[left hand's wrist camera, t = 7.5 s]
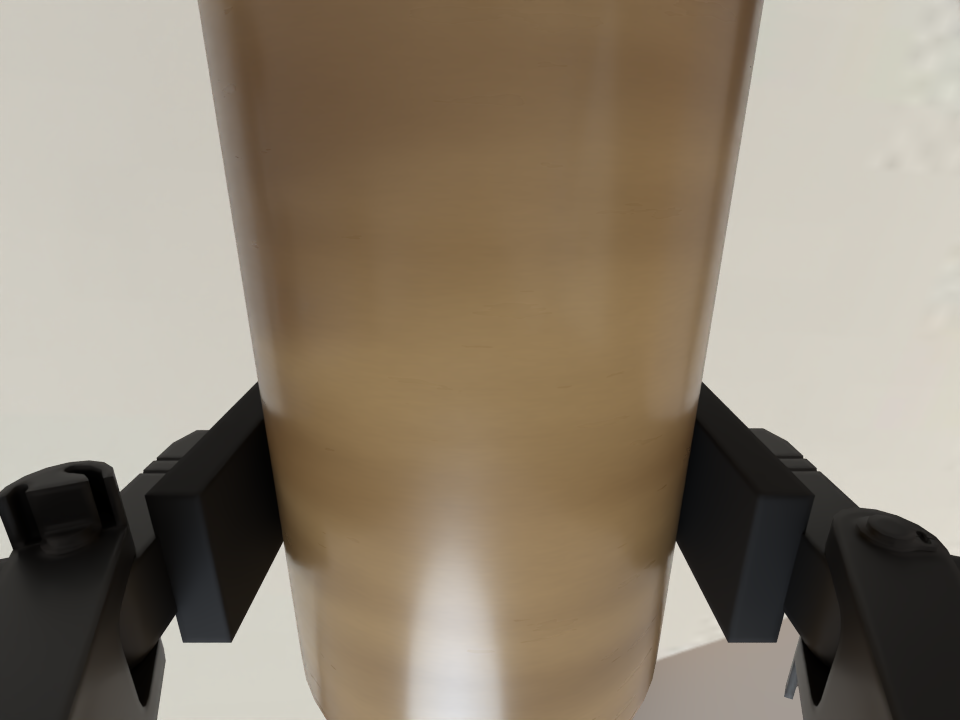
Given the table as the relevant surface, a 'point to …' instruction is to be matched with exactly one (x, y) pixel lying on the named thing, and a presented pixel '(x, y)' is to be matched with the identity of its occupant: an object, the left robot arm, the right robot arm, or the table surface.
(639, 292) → the brown cylinder
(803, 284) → the table surface
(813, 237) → the table surface
